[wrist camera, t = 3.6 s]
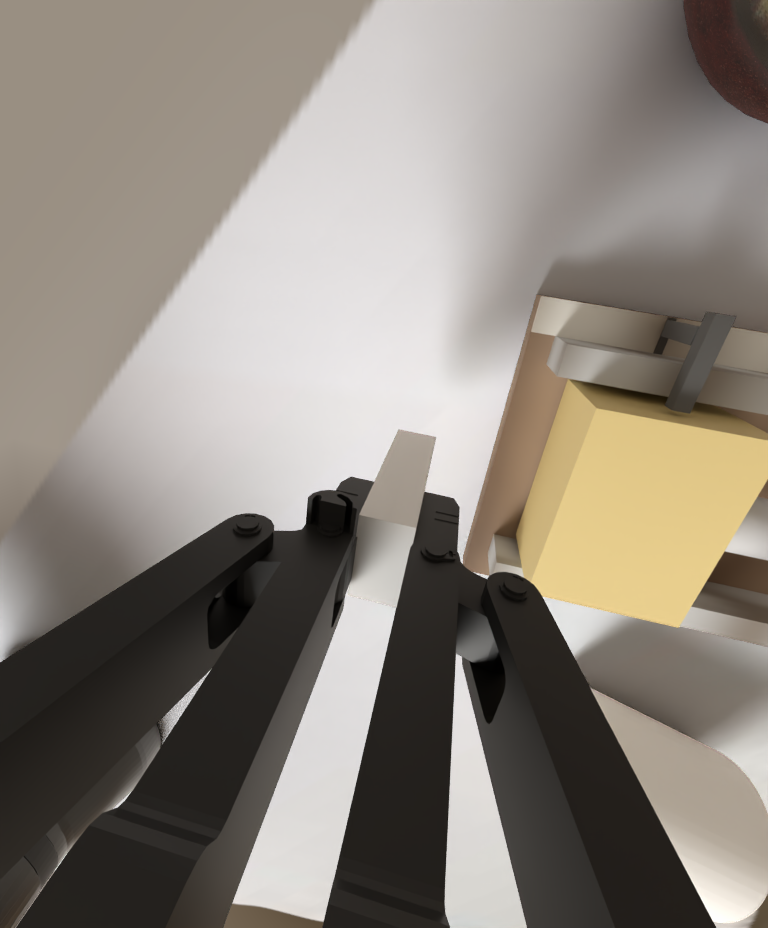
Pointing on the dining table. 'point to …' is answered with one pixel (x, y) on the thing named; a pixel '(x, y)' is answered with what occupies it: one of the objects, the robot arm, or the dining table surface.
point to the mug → (700, 810)
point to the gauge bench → (632, 368)
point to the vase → (732, 50)
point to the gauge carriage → (645, 491)
